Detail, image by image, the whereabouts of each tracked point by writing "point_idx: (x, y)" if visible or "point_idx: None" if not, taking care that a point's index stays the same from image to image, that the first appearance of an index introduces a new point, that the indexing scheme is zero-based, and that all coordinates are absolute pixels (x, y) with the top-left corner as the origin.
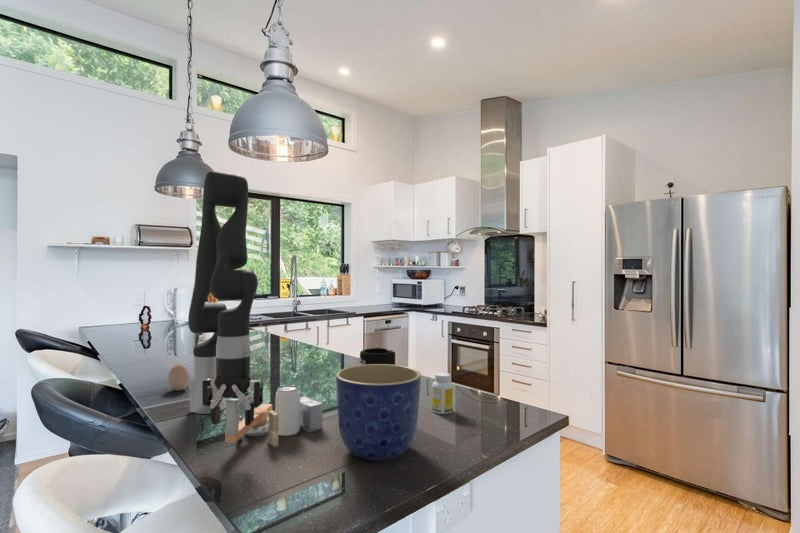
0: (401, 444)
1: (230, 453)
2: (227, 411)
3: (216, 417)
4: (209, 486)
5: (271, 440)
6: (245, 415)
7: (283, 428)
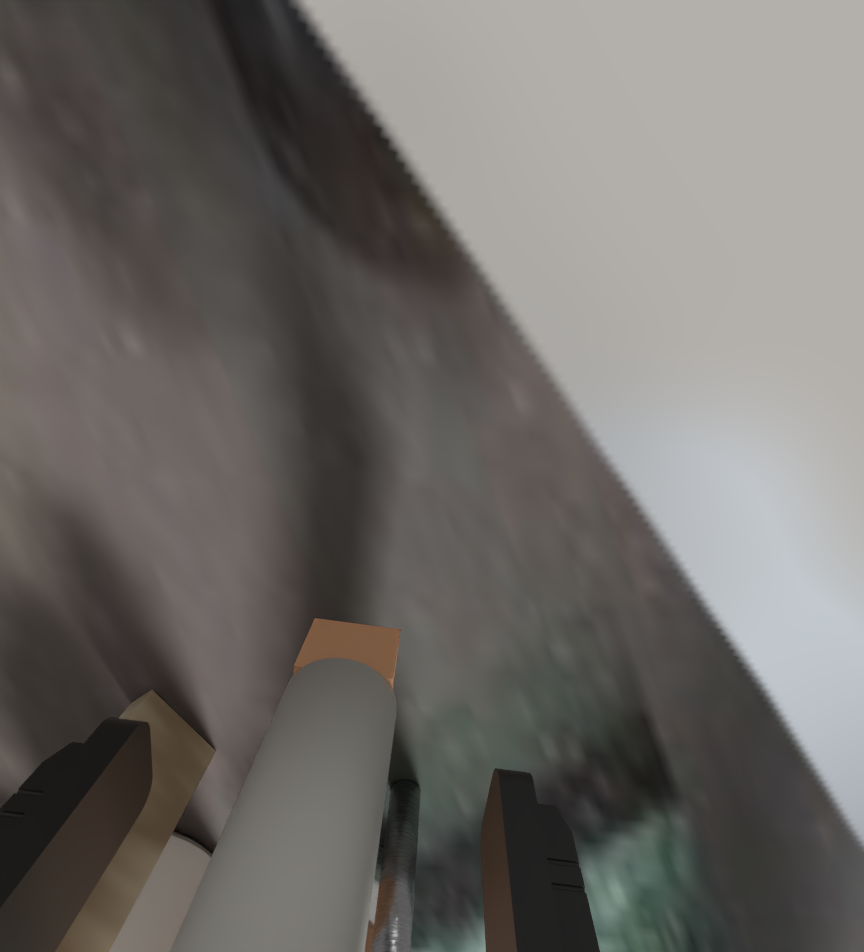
0: None
1: (396, 624)
2: (308, 917)
3: (500, 851)
4: (341, 112)
5: (159, 740)
6: (52, 830)
7: None
